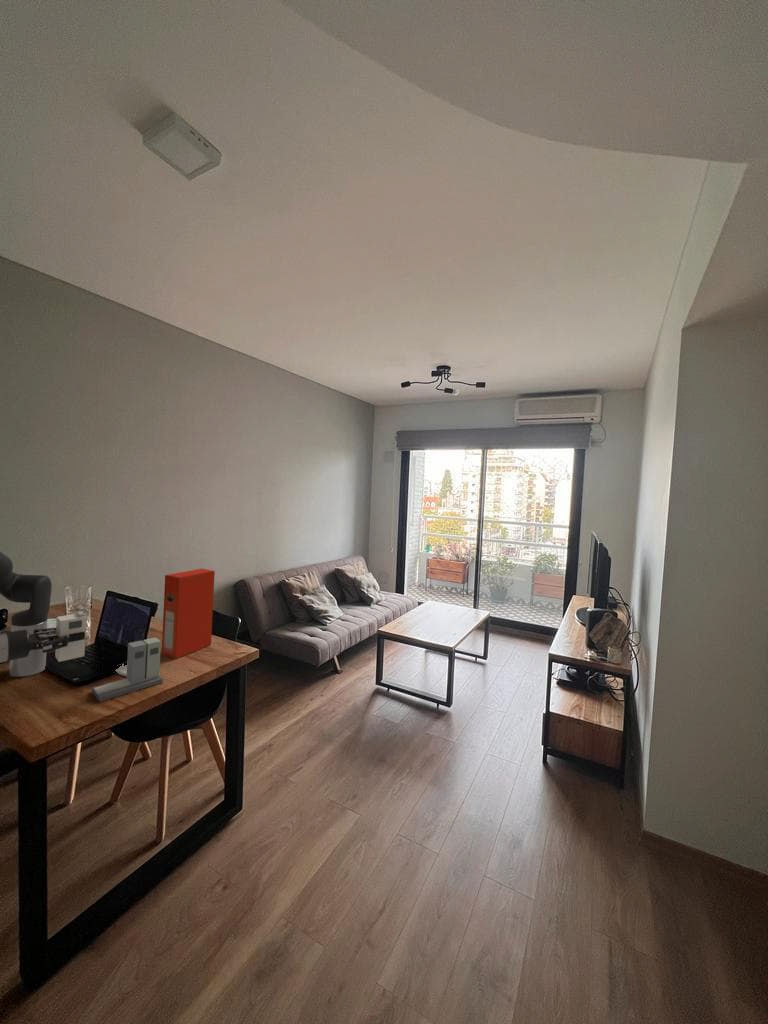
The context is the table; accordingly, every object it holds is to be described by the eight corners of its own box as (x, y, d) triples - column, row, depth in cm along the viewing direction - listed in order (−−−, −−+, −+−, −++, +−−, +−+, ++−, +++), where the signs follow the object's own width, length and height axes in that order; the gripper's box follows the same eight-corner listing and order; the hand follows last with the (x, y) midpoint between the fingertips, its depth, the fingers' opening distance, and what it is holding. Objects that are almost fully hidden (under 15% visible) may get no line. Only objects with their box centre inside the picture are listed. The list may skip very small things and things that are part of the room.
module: (55, 656, 116) (56, 614, 116) (80, 651, 121) (81, 610, 120) (59, 662, 114) (60, 618, 113) (84, 656, 118) (86, 614, 117)
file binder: (161, 654, 156) (165, 574, 155) (197, 640, 172) (201, 568, 170) (175, 659, 153) (179, 577, 151) (210, 645, 169) (215, 571, 167)
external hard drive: (134, 681, 136) (110, 672, 140) (155, 672, 143) (132, 663, 148) (134, 676, 136) (110, 668, 140) (156, 667, 143) (132, 659, 148)
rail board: (92, 692, 126) (93, 648, 125) (153, 674, 140) (155, 635, 139) (99, 702, 121) (101, 656, 120) (162, 683, 135) (164, 642, 134)
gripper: (9, 641, 101) (89, 627, 114) (0, 626, 110) (76, 614, 123) (8, 670, 102) (88, 652, 115) (-1, 652, 111) (75, 637, 124)
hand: (81, 632), depth 119 cm, fingers closed on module, 4 cm apart
